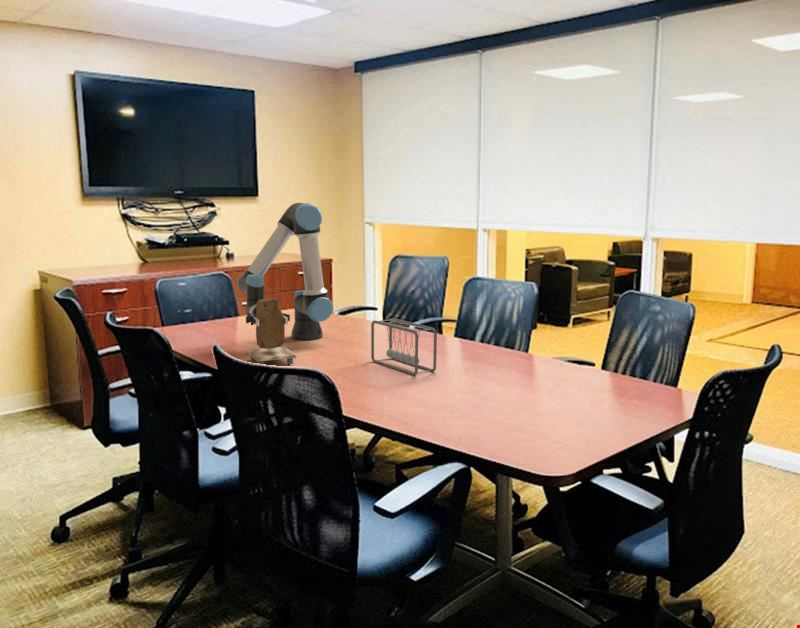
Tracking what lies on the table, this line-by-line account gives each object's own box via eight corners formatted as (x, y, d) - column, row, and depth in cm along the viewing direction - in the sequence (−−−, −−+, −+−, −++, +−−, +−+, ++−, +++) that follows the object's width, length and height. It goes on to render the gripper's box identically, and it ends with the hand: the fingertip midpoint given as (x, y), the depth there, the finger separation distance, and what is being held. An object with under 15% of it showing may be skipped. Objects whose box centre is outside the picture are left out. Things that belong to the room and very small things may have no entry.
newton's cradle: (370, 361, 286) (370, 319, 283) (390, 358, 293) (391, 317, 289) (416, 376, 263) (416, 331, 260) (436, 372, 269) (437, 328, 266)
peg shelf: (285, 356, 294) (285, 346, 293) (296, 365, 279) (295, 355, 278) (247, 359, 287) (247, 349, 287) (256, 368, 272) (256, 358, 271)
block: (261, 350, 276) (260, 300, 272) (255, 346, 282) (254, 298, 279) (286, 347, 281) (286, 299, 278) (279, 343, 288) (279, 296, 284)
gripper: (286, 320, 301) (300, 329, 282) (233, 323, 292) (243, 333, 272) (286, 303, 300) (300, 311, 280) (232, 306, 291) (243, 314, 271)
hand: (272, 322), depth 276 cm, fingers closed on block, 11 cm apart
